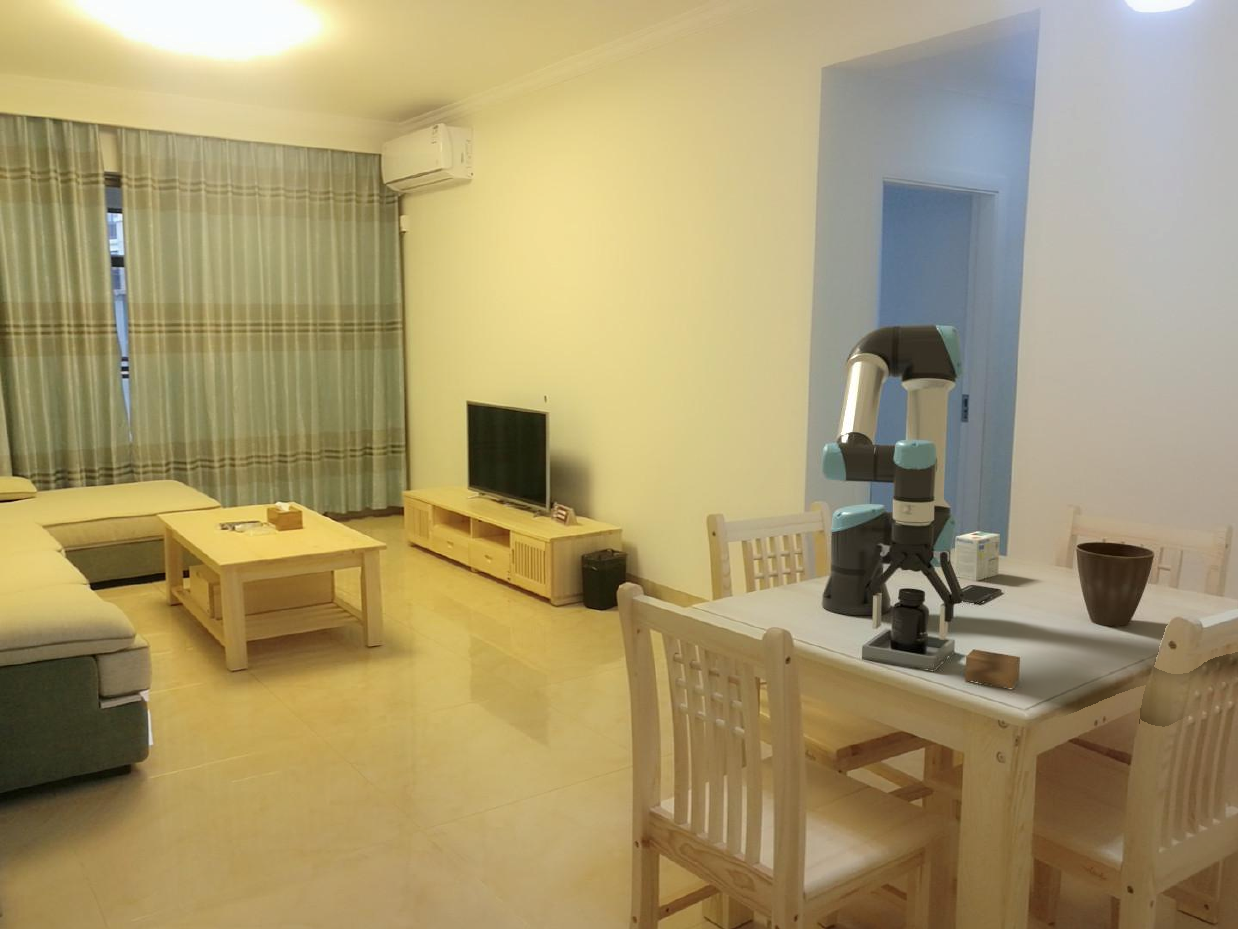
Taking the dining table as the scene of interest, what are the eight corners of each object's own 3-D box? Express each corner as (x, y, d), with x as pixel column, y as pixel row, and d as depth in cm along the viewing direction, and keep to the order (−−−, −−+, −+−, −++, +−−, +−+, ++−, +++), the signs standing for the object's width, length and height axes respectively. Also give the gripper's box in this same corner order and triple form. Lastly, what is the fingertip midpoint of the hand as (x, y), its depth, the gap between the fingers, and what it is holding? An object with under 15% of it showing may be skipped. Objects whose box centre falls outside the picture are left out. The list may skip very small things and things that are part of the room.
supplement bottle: (928, 658, 186) (932, 596, 185) (891, 655, 188) (894, 593, 186) (925, 648, 193) (928, 587, 192) (889, 645, 194) (892, 585, 193)
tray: (861, 658, 189) (862, 645, 188) (885, 640, 200) (886, 628, 200) (933, 671, 181) (934, 658, 181) (954, 652, 192) (954, 639, 192)
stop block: (965, 681, 176) (966, 656, 175) (972, 673, 180) (973, 649, 179) (1012, 689, 171) (1013, 664, 171) (1018, 681, 176) (1019, 657, 175)
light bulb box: (975, 570, 261) (977, 530, 259) (999, 575, 256) (1001, 534, 254) (952, 576, 254) (954, 535, 253) (976, 581, 249) (978, 539, 247)
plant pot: (1153, 619, 214) (1158, 547, 212) (1145, 636, 202) (1149, 559, 200) (1078, 609, 223) (1082, 539, 221) (1066, 625, 210) (1070, 551, 208)
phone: (945, 596, 232) (971, 584, 243) (945, 601, 232) (971, 588, 243) (979, 602, 226) (1003, 589, 238) (979, 607, 227) (1003, 594, 238)
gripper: (843, 518, 191) (841, 627, 194) (974, 531, 177) (969, 648, 180) (857, 513, 197) (855, 618, 200) (984, 525, 184) (979, 637, 186)
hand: (909, 632), depth 190 cm, fingers open, 12 cm apart
